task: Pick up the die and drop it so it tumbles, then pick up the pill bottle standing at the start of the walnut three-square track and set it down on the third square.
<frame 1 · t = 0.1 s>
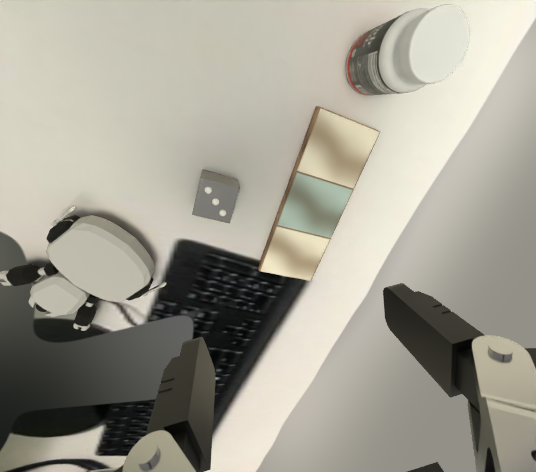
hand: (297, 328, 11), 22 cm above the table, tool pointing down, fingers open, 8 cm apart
robot toy: (94, 262, 32), on the table
pill bottle: (369, 64, 28), on the table
board: (312, 204, 33), on the table
die: (216, 190, 31), on the table
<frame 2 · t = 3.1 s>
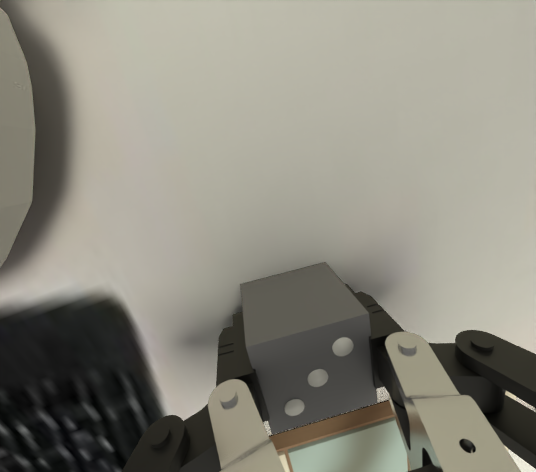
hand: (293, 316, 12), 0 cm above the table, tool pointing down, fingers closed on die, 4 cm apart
board: (347, 458, 17), on the table
die: (291, 309, 13), on the table, touching gripper
when the fingers open (8 cm above the table, at t = 4.1 s): die drops 8 cm, on the table.
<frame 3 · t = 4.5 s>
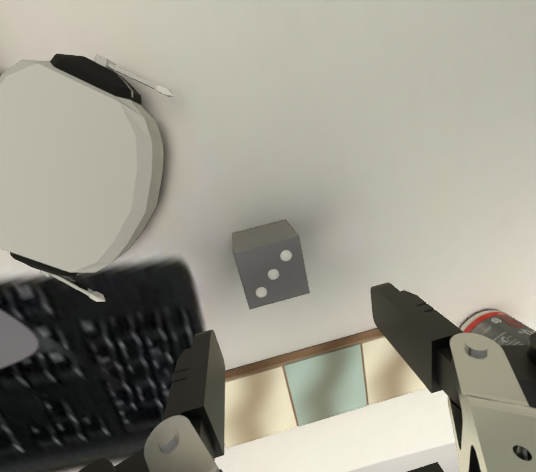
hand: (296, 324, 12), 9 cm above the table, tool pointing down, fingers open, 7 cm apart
robot toy: (43, 149, 16), on the table
pill bottle: (477, 331, 26), on the table
board: (324, 378, 25), on the table
die: (265, 250, 20), on the table
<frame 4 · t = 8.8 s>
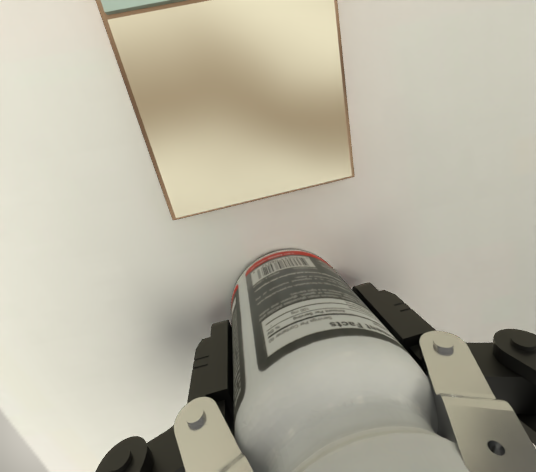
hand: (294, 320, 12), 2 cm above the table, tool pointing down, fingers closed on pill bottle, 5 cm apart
pill bottle: (284, 294, 14), on the table, touching gripper
when the fingers open (4 cm above the table, at t = 14.7 s): pill bottle drops 1 cm, resting on board.
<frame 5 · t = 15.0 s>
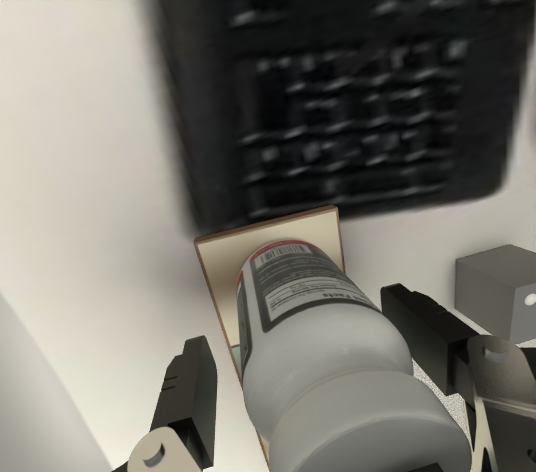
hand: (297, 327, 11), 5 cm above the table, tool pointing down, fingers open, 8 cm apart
pill bottle: (284, 280, 15), point 1 cm above the table, touching board
board: (296, 361, 18), on the table
die: (480, 276, 19), on the table
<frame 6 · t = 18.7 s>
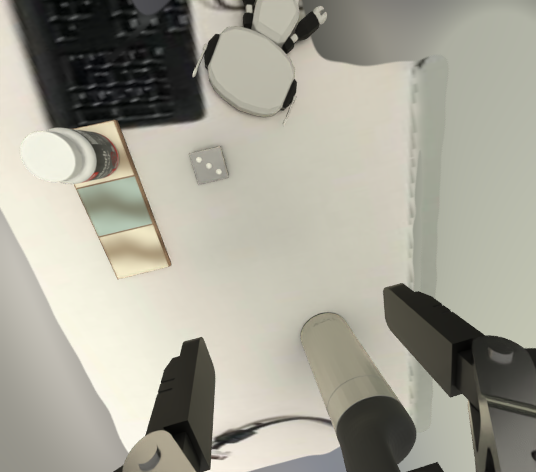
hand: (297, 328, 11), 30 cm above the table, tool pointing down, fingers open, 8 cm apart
robot toy: (260, 55, 34), on the table
pill bottle: (97, 155, 34), point 1 cm above the table, touching board
board: (118, 205, 37), on the table
die: (210, 164, 37), on the table
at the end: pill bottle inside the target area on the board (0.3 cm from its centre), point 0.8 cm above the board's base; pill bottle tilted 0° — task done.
